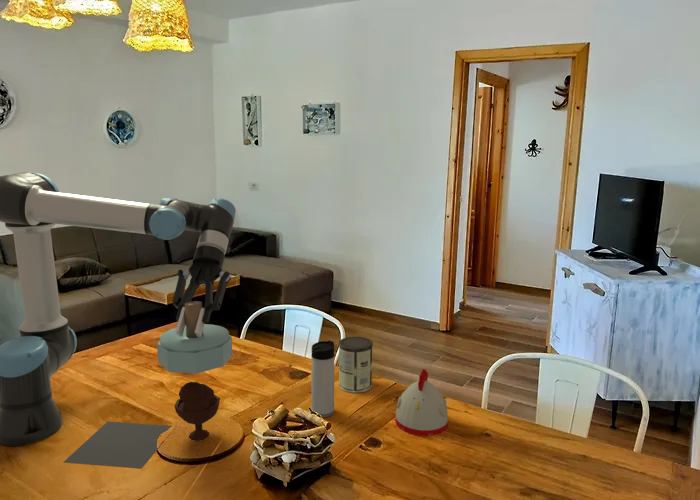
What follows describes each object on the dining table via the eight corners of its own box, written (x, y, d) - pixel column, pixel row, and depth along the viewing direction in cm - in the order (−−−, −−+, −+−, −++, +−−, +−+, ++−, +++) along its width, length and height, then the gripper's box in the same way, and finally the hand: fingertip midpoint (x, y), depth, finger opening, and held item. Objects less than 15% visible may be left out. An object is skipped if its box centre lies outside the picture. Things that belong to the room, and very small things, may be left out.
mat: (63, 463, 128) (63, 462, 128) (107, 422, 147) (107, 421, 147) (141, 470, 126) (141, 468, 126) (176, 427, 145) (176, 426, 145)
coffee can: (350, 375, 178) (350, 334, 175) (378, 383, 172) (379, 340, 169) (331, 387, 169) (332, 343, 166) (360, 396, 164) (361, 351, 161)
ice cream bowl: (210, 450, 134) (208, 393, 131) (168, 445, 136) (164, 388, 134) (228, 428, 144) (226, 374, 142) (188, 424, 147) (186, 370, 144)
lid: (148, 370, 129) (145, 312, 127) (177, 345, 145) (175, 292, 142) (216, 374, 128) (214, 315, 125) (238, 348, 143) (236, 295, 141)
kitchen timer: (389, 430, 145) (390, 376, 142) (402, 406, 158) (404, 357, 155) (442, 440, 140) (445, 385, 137) (451, 415, 153) (454, 364, 150)
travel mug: (339, 411, 154) (340, 343, 150) (322, 420, 149) (322, 350, 145) (323, 404, 158) (324, 337, 154) (306, 412, 154) (306, 344, 150)
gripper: (246, 260, 146) (227, 343, 133) (183, 258, 148) (159, 339, 135) (239, 244, 140) (218, 329, 127) (174, 242, 142) (148, 325, 129)
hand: (188, 334), depth 131 cm, fingers closed on lid, 4 cm apart
